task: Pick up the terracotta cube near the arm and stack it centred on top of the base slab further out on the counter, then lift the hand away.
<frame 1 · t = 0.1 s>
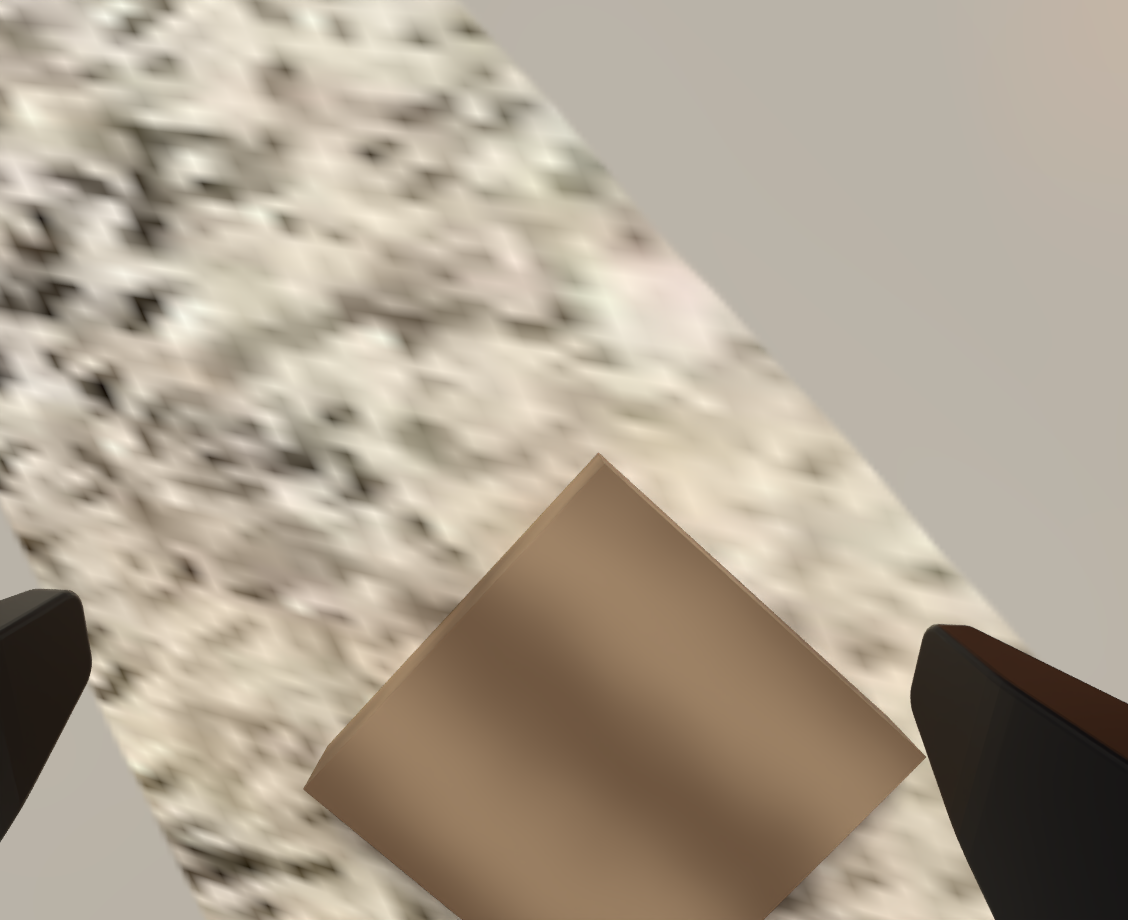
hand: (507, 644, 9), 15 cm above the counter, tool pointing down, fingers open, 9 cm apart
base slab: (608, 725, 26), on the counter
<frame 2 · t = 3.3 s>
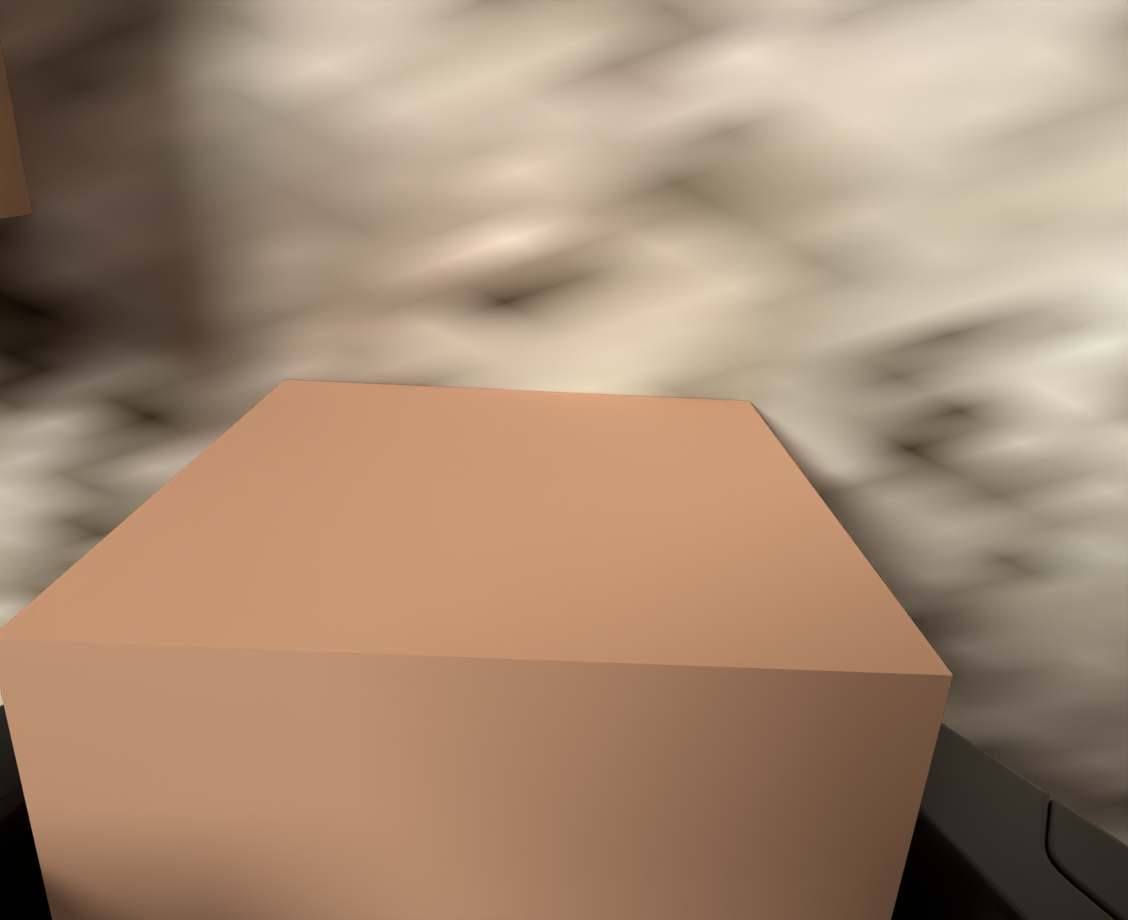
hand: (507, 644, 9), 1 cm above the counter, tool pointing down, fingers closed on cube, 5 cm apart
cube: (512, 593, 10), on the counter, touching gripper
when the fingers open (5 cm above the counter, at t = 7.4 s): cube drops 2 cm, resting on base slab.
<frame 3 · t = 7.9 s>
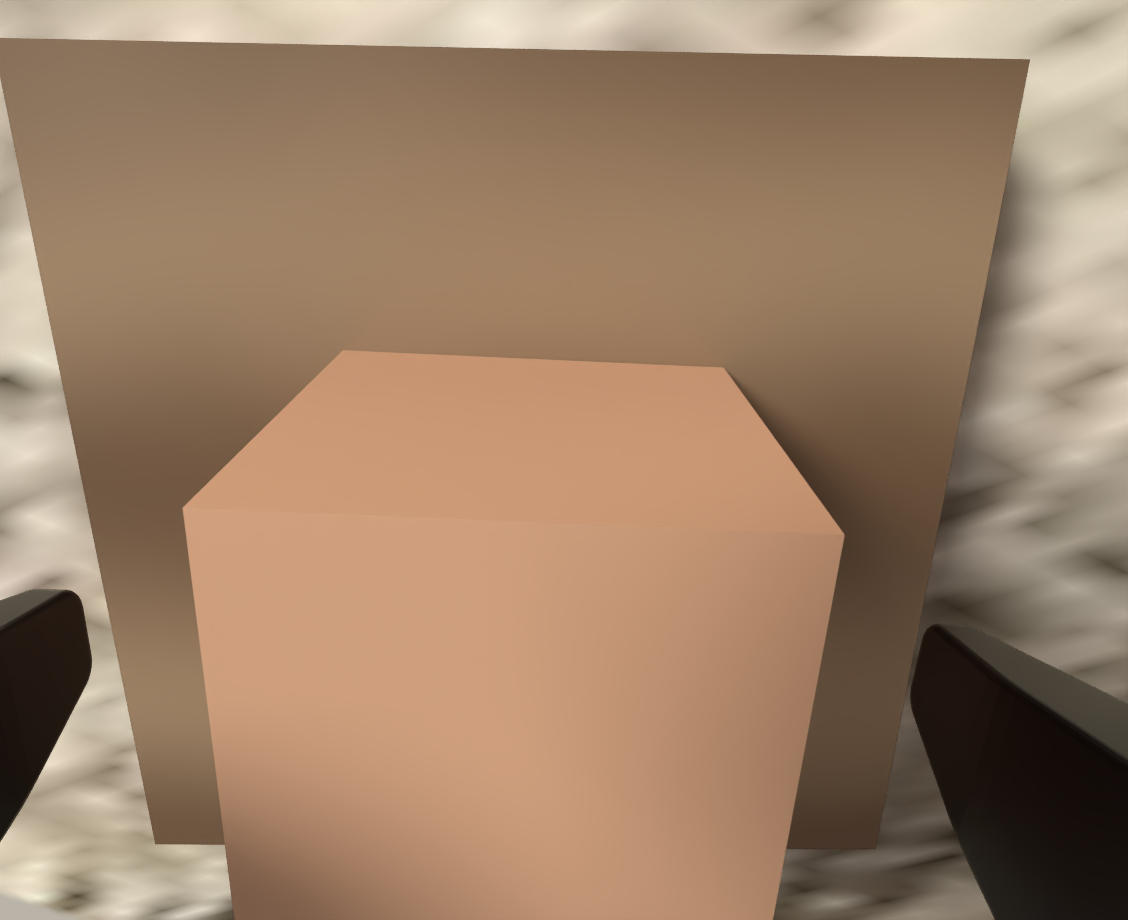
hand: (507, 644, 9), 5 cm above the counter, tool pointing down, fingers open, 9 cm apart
base slab: (524, 447, 15), on the counter, touching cube
cube: (528, 530, 12), point 2 cm above the counter, touching base slab
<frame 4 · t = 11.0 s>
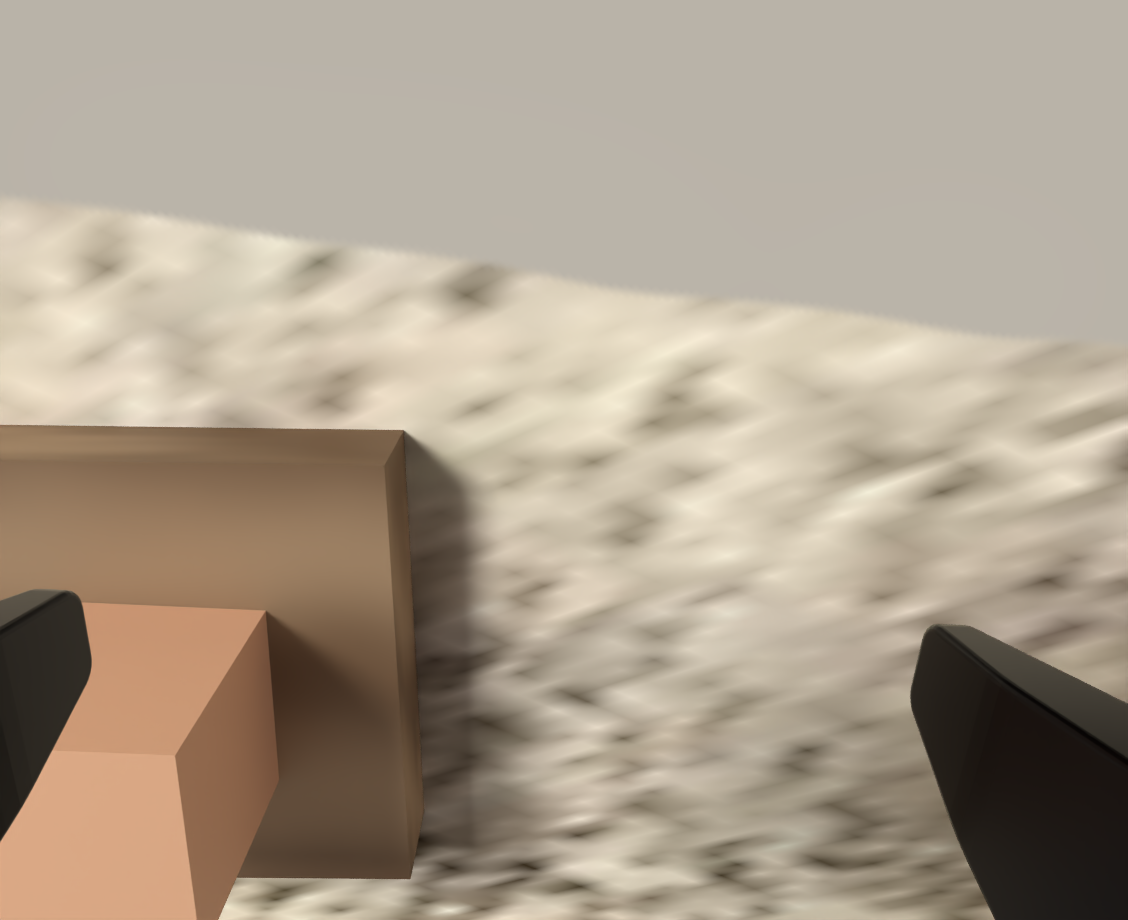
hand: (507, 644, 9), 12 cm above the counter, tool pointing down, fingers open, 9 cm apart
base slab: (202, 625, 23), on the counter, touching cube
cube: (170, 694, 21), point 2 cm above the counter, touching base slab
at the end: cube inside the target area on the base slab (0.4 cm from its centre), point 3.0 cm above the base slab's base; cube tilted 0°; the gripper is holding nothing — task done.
